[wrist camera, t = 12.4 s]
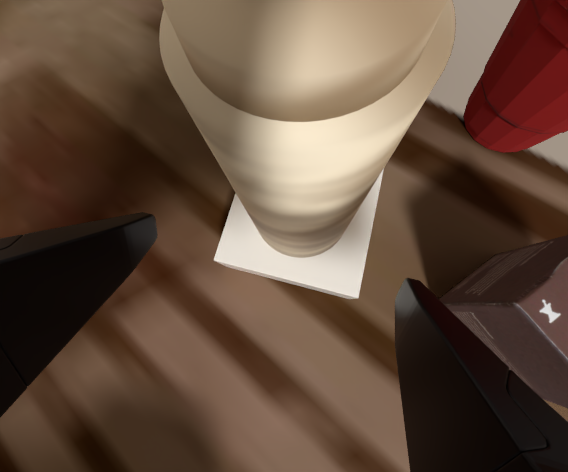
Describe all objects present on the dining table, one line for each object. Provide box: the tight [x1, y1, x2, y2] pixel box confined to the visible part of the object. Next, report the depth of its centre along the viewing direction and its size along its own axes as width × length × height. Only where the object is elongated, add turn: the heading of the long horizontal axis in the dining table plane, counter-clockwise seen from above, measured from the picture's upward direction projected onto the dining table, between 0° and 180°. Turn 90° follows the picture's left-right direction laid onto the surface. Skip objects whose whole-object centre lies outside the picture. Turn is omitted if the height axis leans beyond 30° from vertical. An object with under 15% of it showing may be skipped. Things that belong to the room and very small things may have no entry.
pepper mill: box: [159, 0, 456, 258], centre depth 10 cm, size 6×6×15 cm
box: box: [439, 235, 568, 408], centre depth 14 cm, size 6×6×7 cm
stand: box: [214, 169, 384, 299], centre depth 19 cm, size 9×9×3 cm
